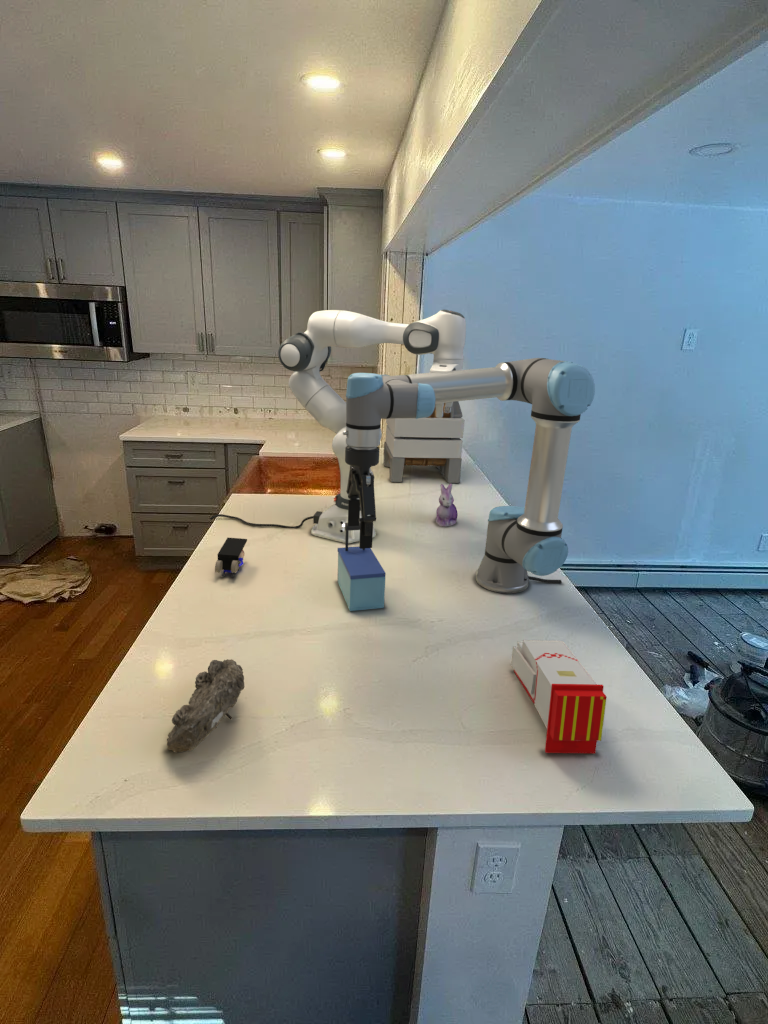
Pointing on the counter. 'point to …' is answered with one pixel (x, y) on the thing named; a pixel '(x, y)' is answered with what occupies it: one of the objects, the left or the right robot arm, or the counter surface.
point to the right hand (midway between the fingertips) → (359, 536)
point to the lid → (359, 559)
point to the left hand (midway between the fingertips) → (443, 415)
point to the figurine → (446, 508)
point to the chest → (361, 590)
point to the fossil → (206, 705)
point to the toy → (561, 695)
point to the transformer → (425, 443)
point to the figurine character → (230, 556)
